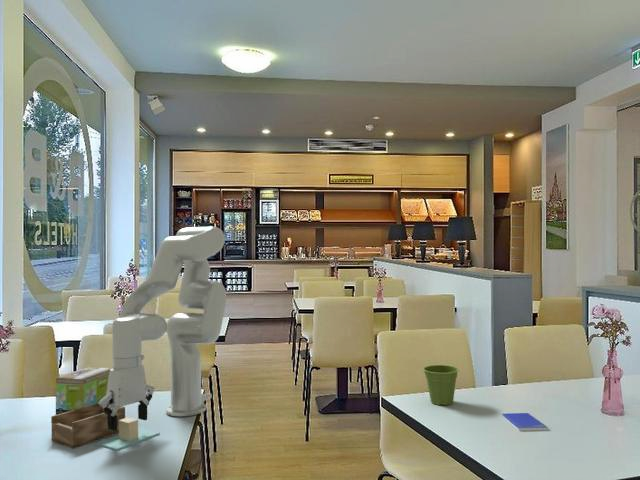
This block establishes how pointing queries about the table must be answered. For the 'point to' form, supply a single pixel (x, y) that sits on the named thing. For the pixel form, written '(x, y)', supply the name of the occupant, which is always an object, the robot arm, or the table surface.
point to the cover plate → (125, 443)
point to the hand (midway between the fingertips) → (128, 424)
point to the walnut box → (83, 426)
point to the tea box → (81, 388)
